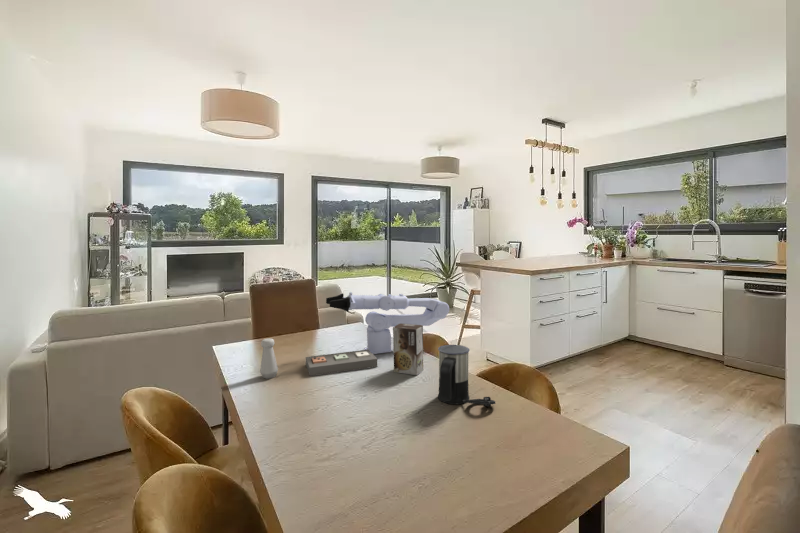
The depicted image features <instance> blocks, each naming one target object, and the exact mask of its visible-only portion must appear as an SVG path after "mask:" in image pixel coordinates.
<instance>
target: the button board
mask: <svg viewBox="0 0 800 533" xmlns="http://www.w3.org/2000/svg"><path fill="white" fill-rule="evenodd" d="M364 351H367V352H368V354H369V355H370V357H362V358H357V357H356V356H355V353H356V352H364ZM340 354H346V355H347V356H348V359H346V360H339V361H335V359H334V355H340ZM316 357H325V359H326V362H323V363H315V364H313V363H312V358H316ZM305 367H306V369H307V372H308V375H309V377H315V376H320V375H328V374H329V375H330V374H335V373H342V372H343V373H344V372H351V371H357V370H364V369H365V370H366V369H373V368H377V367H378V357H377V356H375V354H372V353H371V352H370V351H369V350H365V349H362V350H361V349H360V350H352V351H343V352H336V353H335V352H334V353H328V354H321V355H311V356H305ZM372 367H373V368H372Z"/></svg>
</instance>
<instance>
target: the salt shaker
mask: <svg viewBox="0 0 800 533" xmlns="http://www.w3.org/2000/svg"><path fill="white" fill-rule="evenodd" d="M260 346H261V347H262V353H261V362H260V370H259V371H260V375H261V377H262V378H263V379H265V380H268V379H273V378H275V377H276V376H277V374H278V371H279V367H278V362H277V359H276V354H275V351H274V346H275V339H273V338H270V337H269V338H264V339H262V340H261V342H260Z"/></svg>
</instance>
